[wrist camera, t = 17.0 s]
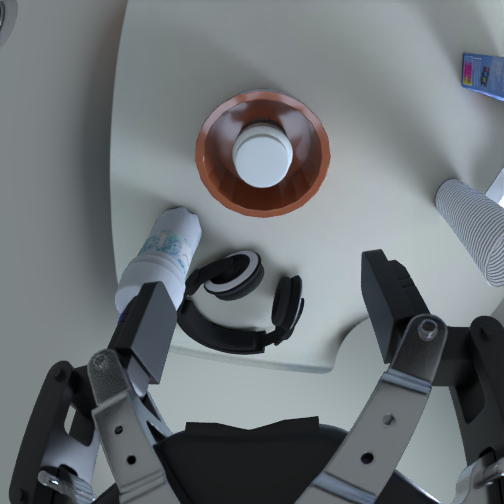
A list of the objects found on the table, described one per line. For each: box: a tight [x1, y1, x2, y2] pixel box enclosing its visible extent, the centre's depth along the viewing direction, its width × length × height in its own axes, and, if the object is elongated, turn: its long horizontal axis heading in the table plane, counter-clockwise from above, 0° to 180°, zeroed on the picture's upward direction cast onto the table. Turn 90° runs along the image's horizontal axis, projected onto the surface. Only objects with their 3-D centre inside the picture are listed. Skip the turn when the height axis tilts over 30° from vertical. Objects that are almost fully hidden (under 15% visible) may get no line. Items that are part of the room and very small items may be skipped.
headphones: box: [177, 251, 304, 355], centre depth 44 cm, size 18×8×20 cm
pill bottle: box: [232, 118, 293, 187], centre depth 29 cm, size 6×6×10 cm
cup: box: [435, 179, 504, 287], centre depth 29 cm, size 8×8×16 cm
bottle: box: [115, 207, 202, 323], centre depth 32 cm, size 7×7×20 cm
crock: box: [196, 88, 330, 218], centre depth 30 cm, size 13×13×8 cm
